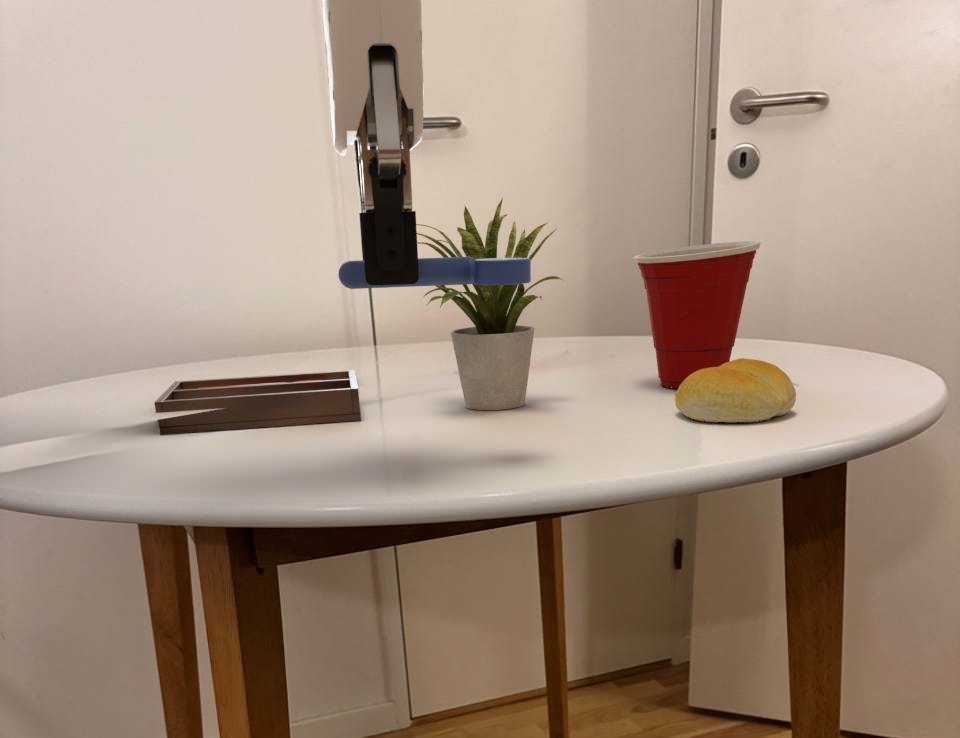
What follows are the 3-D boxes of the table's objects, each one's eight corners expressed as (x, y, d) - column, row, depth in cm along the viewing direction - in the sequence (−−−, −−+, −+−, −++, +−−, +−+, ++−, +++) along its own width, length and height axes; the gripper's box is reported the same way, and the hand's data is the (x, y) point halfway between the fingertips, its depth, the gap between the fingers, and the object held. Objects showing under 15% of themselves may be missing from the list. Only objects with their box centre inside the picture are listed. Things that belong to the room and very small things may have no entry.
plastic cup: (615, 380, 90) (617, 246, 85) (720, 372, 92) (728, 240, 87) (654, 399, 81) (658, 248, 76) (771, 389, 82) (783, 241, 77)
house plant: (412, 392, 89) (398, 203, 82) (556, 385, 89) (555, 196, 82) (407, 422, 76) (390, 200, 69) (576, 413, 76) (576, 191, 69)
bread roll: (655, 416, 73) (656, 364, 72) (727, 400, 78) (730, 351, 77) (741, 430, 67) (745, 373, 66) (813, 412, 72) (819, 358, 71)
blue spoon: (339, 291, 56) (337, 262, 55) (339, 287, 59) (337, 260, 58) (536, 283, 57) (536, 255, 56) (524, 280, 60) (524, 253, 60)
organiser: (159, 435, 75) (153, 402, 74) (179, 410, 85) (174, 381, 84) (361, 420, 77) (358, 388, 76) (357, 398, 87) (354, 369, 86)
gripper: (301, -46, 57) (329, 279, 64) (292, -137, 42) (330, 294, 50) (424, -46, 57) (438, 275, 65) (456, -134, 43) (468, 289, 51)
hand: (391, 281), depth 57 cm, fingers closed on blue spoon, 1 cm apart
